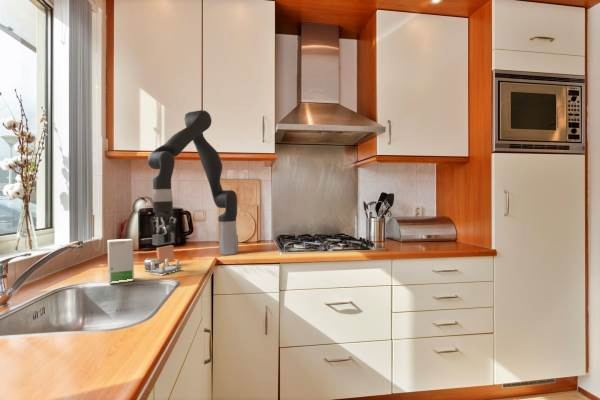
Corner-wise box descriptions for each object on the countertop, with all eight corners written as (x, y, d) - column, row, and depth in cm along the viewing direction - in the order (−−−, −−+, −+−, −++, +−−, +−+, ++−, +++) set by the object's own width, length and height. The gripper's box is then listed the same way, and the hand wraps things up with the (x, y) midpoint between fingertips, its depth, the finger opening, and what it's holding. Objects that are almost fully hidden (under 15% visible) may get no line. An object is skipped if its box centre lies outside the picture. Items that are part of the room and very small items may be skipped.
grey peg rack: (150, 267, 143) (149, 250, 143) (141, 266, 146) (140, 249, 145) (177, 261, 155) (176, 245, 155) (168, 260, 158) (167, 245, 158)
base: (153, 267, 151) (153, 263, 151) (162, 268, 148) (161, 264, 148) (142, 270, 146) (141, 265, 146) (150, 271, 143) (150, 266, 143)
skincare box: (109, 285, 123) (107, 241, 123) (107, 281, 129) (106, 240, 128) (135, 281, 128) (133, 239, 127) (132, 277, 133) (130, 237, 133)
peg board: (168, 268, 148) (168, 258, 147) (181, 270, 144) (181, 259, 144) (148, 274, 139) (148, 262, 139) (161, 275, 135) (161, 264, 135)
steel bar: (168, 242, 145) (168, 232, 145) (174, 242, 143) (174, 233, 143) (152, 244, 138) (152, 234, 138) (158, 245, 136) (157, 235, 136)
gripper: (182, 199, 141) (183, 241, 141) (158, 200, 147) (160, 240, 148) (167, 200, 134) (168, 244, 134) (143, 201, 141) (145, 243, 141)
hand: (164, 242), depth 141 cm, fingers closed on steel bar, 3 cm apart
